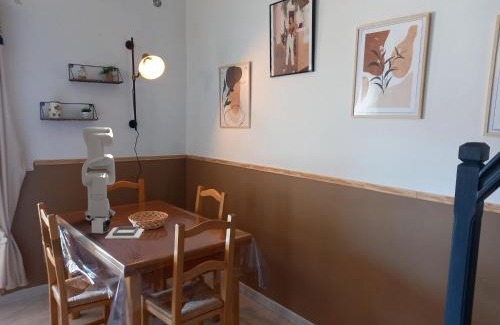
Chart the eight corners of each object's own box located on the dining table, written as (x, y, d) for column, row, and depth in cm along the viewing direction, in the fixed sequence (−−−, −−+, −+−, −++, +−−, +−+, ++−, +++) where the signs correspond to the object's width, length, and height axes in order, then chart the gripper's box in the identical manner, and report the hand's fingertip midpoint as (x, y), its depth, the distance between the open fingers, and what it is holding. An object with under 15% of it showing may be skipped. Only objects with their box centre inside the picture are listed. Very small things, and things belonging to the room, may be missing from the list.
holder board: (114, 228, 205) (113, 225, 205) (144, 228, 207) (144, 224, 207) (104, 238, 187) (104, 234, 187) (138, 238, 190) (138, 234, 189)
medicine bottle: (103, 233, 194) (103, 212, 194) (91, 233, 195) (91, 212, 194) (109, 230, 201) (109, 210, 201) (98, 229, 202) (98, 209, 202)
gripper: (81, 197, 191) (82, 228, 193) (113, 198, 193) (114, 228, 195) (86, 195, 199) (86, 224, 201) (117, 195, 201) (117, 224, 203)
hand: (100, 226), depth 198 cm, fingers closed on medicine bottle, 8 cm apart
